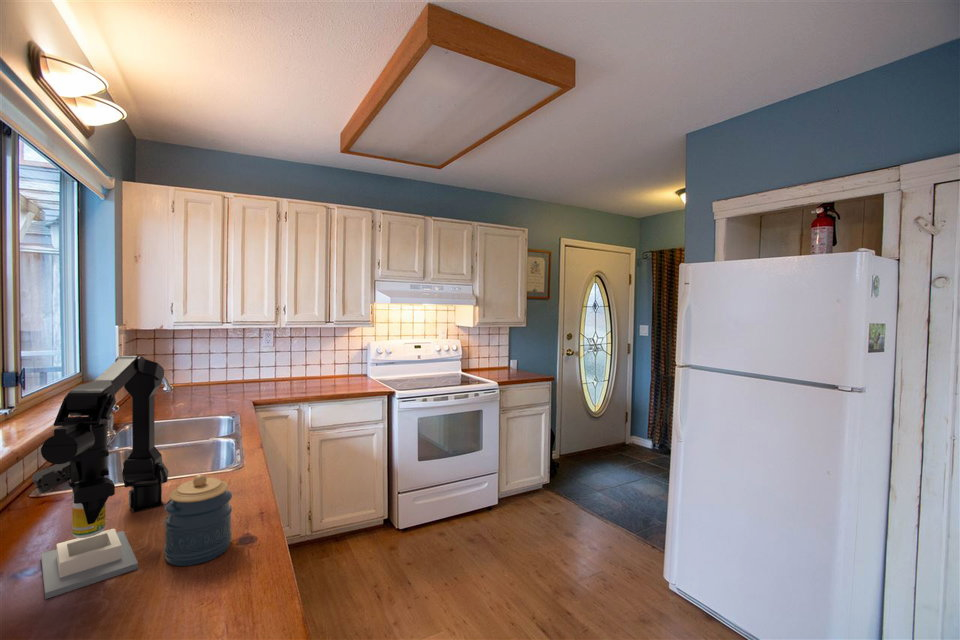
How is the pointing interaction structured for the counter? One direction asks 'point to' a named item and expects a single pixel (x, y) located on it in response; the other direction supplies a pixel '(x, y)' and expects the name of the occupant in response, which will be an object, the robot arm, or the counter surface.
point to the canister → (197, 521)
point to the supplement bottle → (80, 523)
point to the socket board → (86, 562)
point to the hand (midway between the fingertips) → (89, 518)
